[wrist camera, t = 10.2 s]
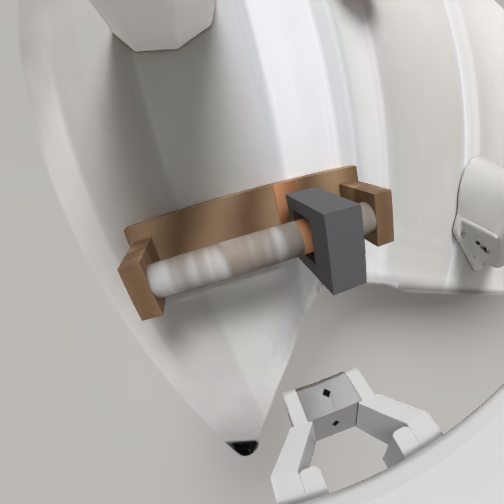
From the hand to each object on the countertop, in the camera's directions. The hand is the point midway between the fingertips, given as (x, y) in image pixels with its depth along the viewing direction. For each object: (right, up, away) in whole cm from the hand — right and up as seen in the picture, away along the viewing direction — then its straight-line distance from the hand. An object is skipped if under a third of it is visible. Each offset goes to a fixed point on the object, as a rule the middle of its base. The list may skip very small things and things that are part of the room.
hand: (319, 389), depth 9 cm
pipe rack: (-3, +8, +19) cm, 21 cm away
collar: (+3, +8, +17) cm, 19 cm away
